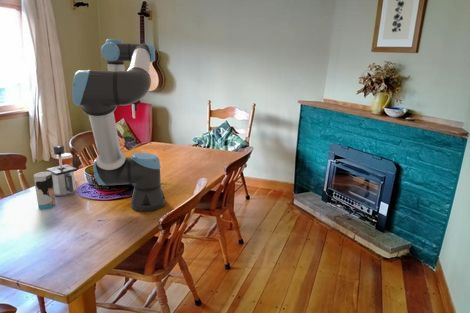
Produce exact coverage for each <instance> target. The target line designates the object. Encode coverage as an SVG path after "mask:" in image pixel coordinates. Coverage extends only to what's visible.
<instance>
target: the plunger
mask: <svg viewBox="0 0 470 313" xmlns="http://www.w3.org/2000/svg"><path fill="white" fill-rule="evenodd" d="M52 149H53V155H56V156H57V155H58V157H59V165H60V170H62V169H63V165H62V158H61V154H64V153H66V151H65V146H64V145H54V146H53V148H52Z"/></svg>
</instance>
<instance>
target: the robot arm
mask: <svg viewBox="0 0 470 313" xmlns="http://www.w3.org/2000/svg"><path fill="white" fill-rule="evenodd" d="M100 53H101V56H102V57H103V58H104V60H106V61H107V62H106V64H107V65H106V66H107V70H91V69H88V70H87V69H85V70H77V71H76V72H75V73H74V76H73V80H72V87H71V88H72V89H71V93H72V102H73V104H74V106H78V107H81V109H82V112H83V113H84V114H85V115H88V119H89V123H90V126H91V131H92V134H93V135H92V136H93V140H94V143H95V146H96V150H97V154H98V155H97V156H96V158H95V159H94V161H93V163H92V166H93V167H92V170H93V176H94V179H95V181H96V182H97V184H98V185H101V186H116V185H118V186H119V185H133V191H132V195H131V196H132V197H131V199H130V208H132V209H133V210H134V211H138V212H152V211H153V212H154V211H157V210H160V209H162V208H163V207H164V206H166V197H165V194H164V192H163V189H162V182H161V180H162V179H161V163H160V161H161V160H160V158H159V156H158V155H155V154H153V153H150V152H134V153H132V154H131V156H130V157H129V156H128V157H126V154H125V153H124V152H123V151H121V146H120V141H119V140H120V139H119V135H118V128H117V124H116V117H115V113H114V112H115V110H116V109H117V107H118V106H129V105H131V112H132V114H131V115H132V118H133V119H136V112H137V110H138V106H137V105H138V104H141V100H142V98H144V97H145V96H146V95H147V93H148V92H149V90H150V88H151V84H152V78H151V75H150V63H154V62H155V61H156V49H155V46H154V44H148V43H125V42H123V40H122V39H118V38H107V39H106V40H105V43H104V44H103V45H102V46H101V48H100ZM125 62H129V66H128V69H127V70H125Z"/></svg>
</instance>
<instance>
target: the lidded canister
mask: <svg viewBox="0 0 470 313" xmlns="http://www.w3.org/2000/svg"><path fill="white" fill-rule="evenodd" d="M76 171H78V169H77V168H76V167H74V166H73V167H72V166H70V165H67V164H66V165H63V169H62V170H60V166H58V165H57V166H53V167H49V168H46V169H45V172H51V173H52V178H53V186H54V193H55V198H62V197H63V198H65V197H70V196H73V195H74V194H76V193H77V188H76V182H75V172H76Z"/></svg>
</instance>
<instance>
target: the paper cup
mask: <svg viewBox="0 0 470 313" xmlns="http://www.w3.org/2000/svg"><path fill="white" fill-rule="evenodd" d="M61 158H62V165H66V164H67V165H70V166H72V167H74V166H73V154H72V153H71V152H65V153H64V154H61ZM56 159H57V166H60V165H59V157H58V155H56Z"/></svg>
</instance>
